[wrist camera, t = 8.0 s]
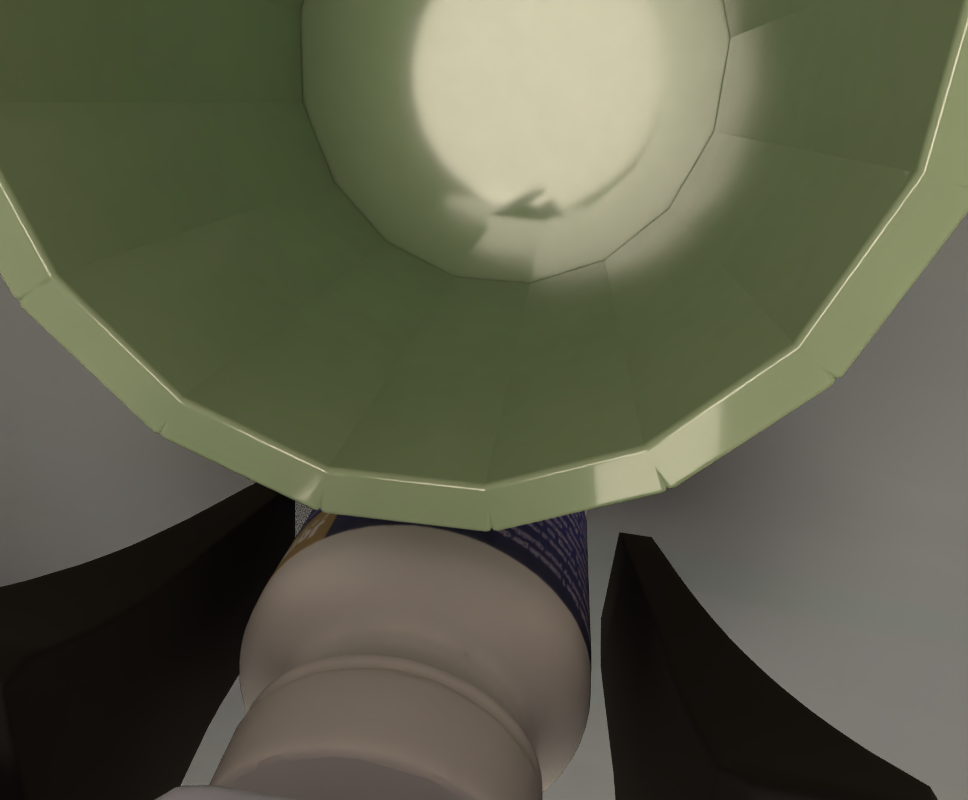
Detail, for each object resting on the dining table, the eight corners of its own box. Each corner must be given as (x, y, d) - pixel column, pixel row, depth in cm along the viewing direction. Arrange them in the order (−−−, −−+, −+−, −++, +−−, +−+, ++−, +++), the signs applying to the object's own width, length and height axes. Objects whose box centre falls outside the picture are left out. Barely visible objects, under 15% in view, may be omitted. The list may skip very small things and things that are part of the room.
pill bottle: (362, 355, 15) (123, 646, 7) (607, 400, 15) (652, 753, 7) (343, 562, 17) (143, 970, 9) (559, 604, 17) (550, 1060, 9)
